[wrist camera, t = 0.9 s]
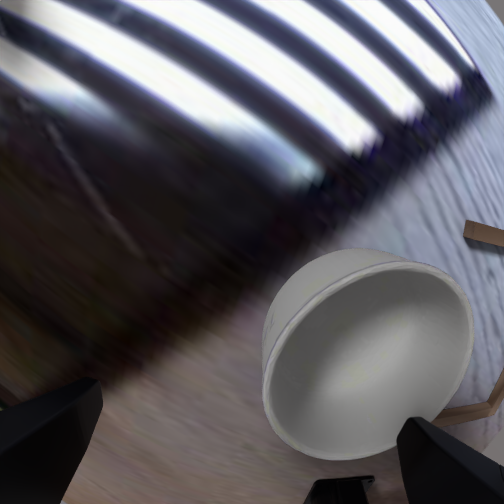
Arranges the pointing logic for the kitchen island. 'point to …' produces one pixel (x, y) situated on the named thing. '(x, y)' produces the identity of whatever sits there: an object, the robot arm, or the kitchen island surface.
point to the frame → (500, 390)
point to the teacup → (362, 351)
